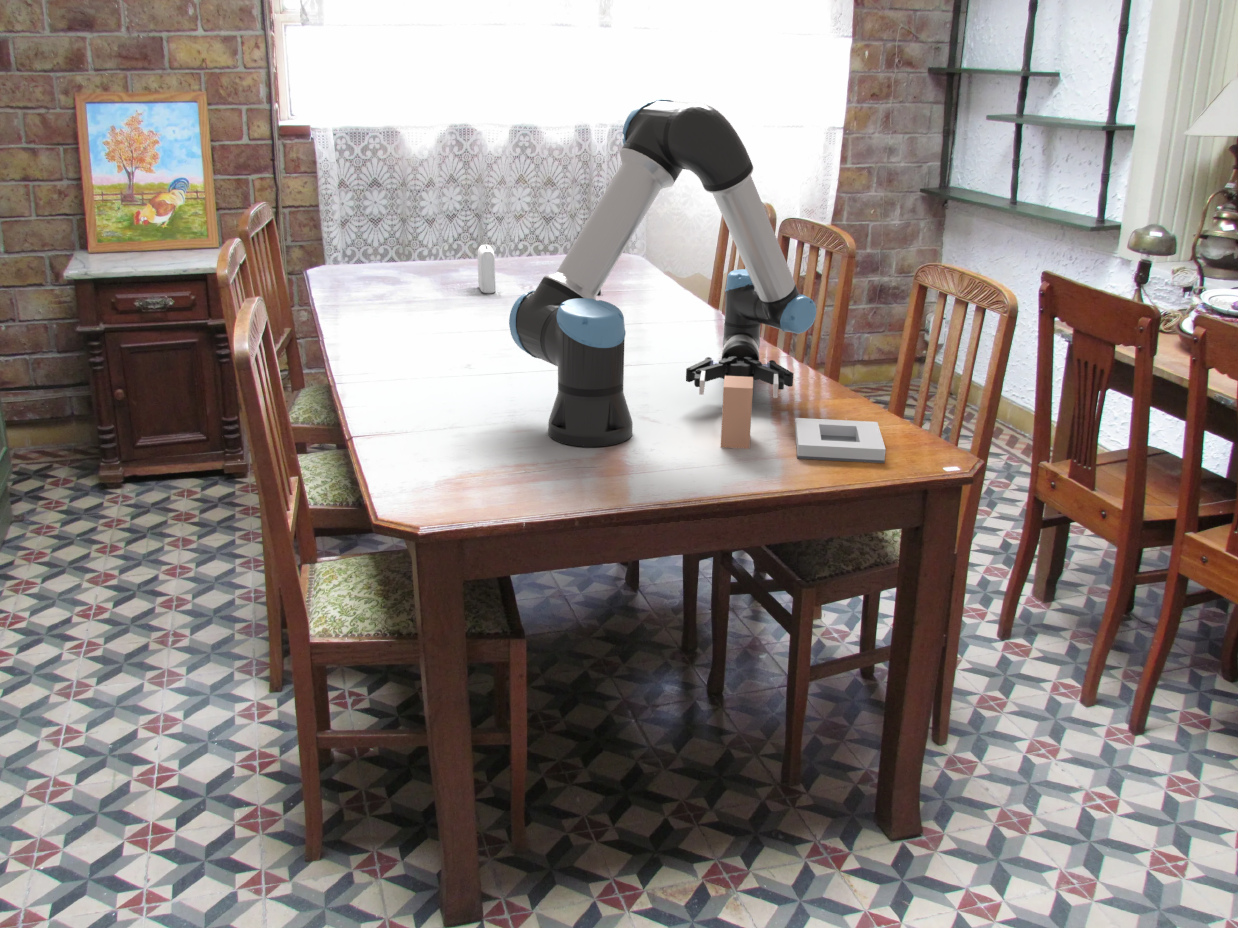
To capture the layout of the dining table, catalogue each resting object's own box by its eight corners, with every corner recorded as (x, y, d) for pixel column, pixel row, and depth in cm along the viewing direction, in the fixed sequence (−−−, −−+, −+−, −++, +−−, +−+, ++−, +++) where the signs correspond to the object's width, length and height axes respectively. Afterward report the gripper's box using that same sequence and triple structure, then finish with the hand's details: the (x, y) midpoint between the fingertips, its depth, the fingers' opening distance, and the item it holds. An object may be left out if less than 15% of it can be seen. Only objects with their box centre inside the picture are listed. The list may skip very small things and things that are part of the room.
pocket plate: (797, 458, 195) (798, 444, 194) (794, 430, 208) (795, 417, 207) (884, 463, 193) (885, 449, 192) (876, 435, 207) (877, 421, 206)
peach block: (720, 447, 199) (723, 387, 196) (721, 434, 206) (724, 375, 202) (749, 448, 199) (752, 388, 195) (749, 435, 205) (753, 377, 202)
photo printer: (477, 286, 321) (476, 242, 316) (492, 285, 322) (491, 242, 317) (481, 294, 311) (479, 248, 307) (496, 293, 312) (495, 248, 308)
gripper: (801, 378, 229) (805, 411, 209) (677, 373, 231) (670, 405, 212) (804, 342, 226) (808, 372, 207) (679, 337, 229) (671, 366, 209)
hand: (738, 389), depth 209 cm, fingers open, 13 cm apart
